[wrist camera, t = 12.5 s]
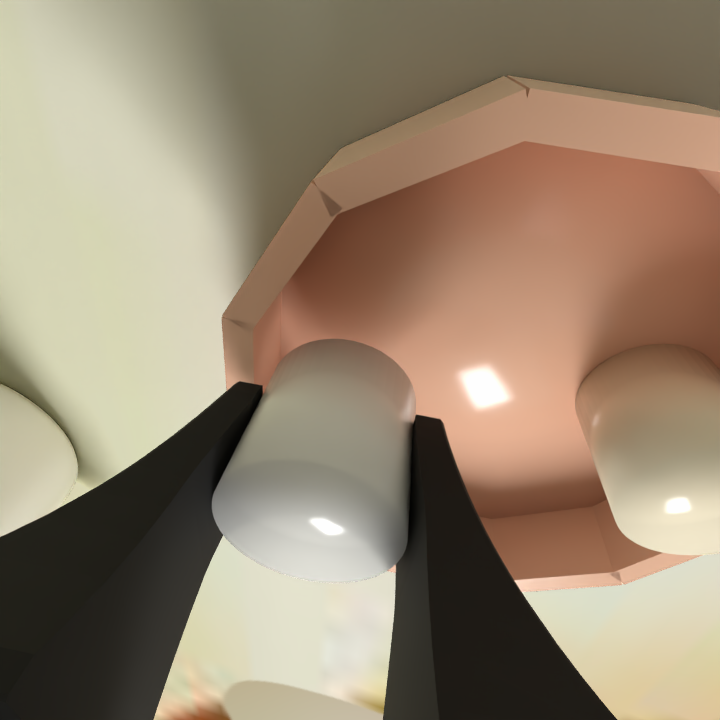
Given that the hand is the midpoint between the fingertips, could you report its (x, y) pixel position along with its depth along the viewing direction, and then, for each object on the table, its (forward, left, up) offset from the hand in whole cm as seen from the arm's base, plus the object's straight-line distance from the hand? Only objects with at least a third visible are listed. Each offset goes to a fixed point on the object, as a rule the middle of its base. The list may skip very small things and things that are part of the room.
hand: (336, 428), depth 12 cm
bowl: (-4, 0, -4) cm, 6 cm away
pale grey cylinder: (0, 0, -1) cm, 1 cm away
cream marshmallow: (-9, 0, -4) cm, 10 cm away
